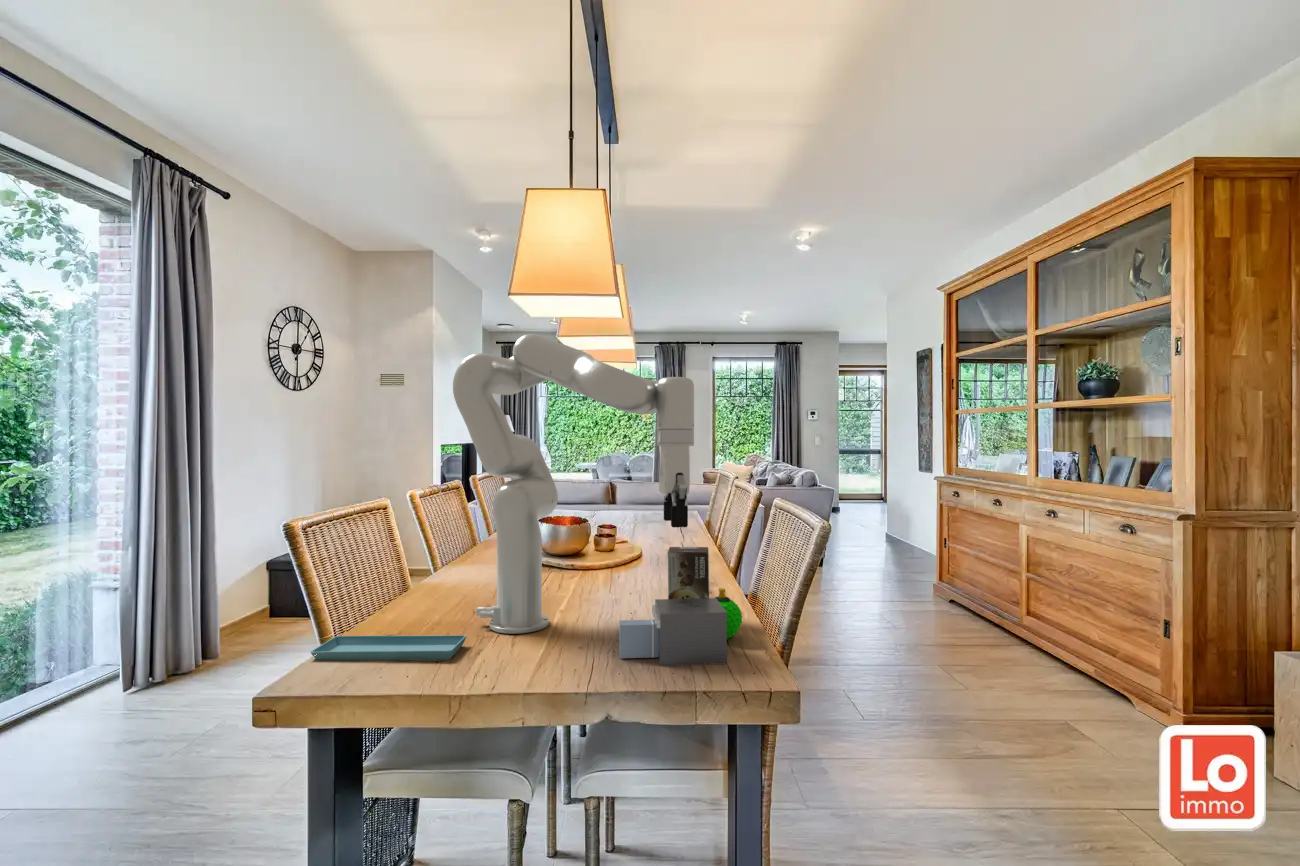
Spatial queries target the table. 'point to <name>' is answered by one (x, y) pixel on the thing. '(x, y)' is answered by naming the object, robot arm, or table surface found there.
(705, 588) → the coffee box
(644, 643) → the blue-grey banded block
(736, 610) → the ornament
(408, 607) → the table surface
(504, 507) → the robot arm
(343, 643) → the teal serving tray
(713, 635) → the dark grey box
